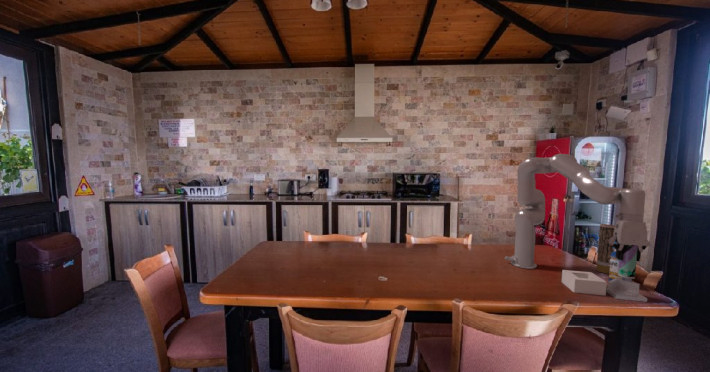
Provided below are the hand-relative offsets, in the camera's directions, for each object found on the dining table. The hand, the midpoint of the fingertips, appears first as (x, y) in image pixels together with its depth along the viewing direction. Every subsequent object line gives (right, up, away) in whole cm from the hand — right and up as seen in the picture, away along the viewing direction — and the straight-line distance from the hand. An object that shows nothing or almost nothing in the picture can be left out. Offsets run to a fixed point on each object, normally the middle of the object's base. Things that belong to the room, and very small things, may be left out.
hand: (627, 259), depth 127 cm
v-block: (0, -16, +1) cm, 16 cm away
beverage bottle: (+9, -15, +14) cm, 22 cm away
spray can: (0, -8, +1) cm, 8 cm away
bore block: (-13, -15, +8) cm, 22 cm away
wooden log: (+16, -14, +30) cm, 37 cm away
